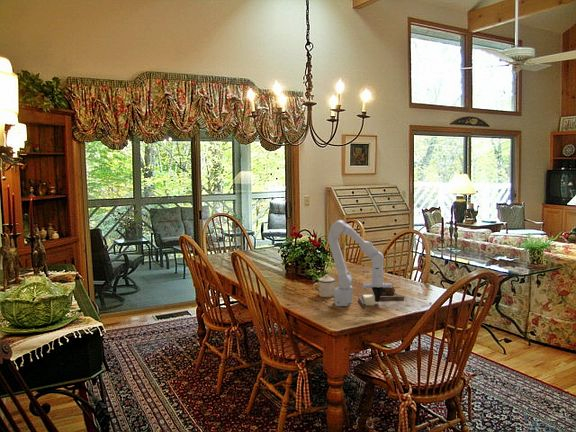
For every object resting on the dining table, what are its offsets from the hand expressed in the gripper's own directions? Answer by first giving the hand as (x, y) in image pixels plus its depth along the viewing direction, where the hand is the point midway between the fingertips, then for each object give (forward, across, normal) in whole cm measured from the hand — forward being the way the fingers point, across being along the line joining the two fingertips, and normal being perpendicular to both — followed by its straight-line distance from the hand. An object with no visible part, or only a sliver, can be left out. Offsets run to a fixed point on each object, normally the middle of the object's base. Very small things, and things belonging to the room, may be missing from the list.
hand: (377, 301), depth 247 cm
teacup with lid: (+3, -25, +23) cm, 34 cm away
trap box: (+2, +4, 0) cm, 5 cm away
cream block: (+1, -4, 0) cm, 5 cm away
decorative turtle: (+3, +8, +16) cm, 18 cm away
